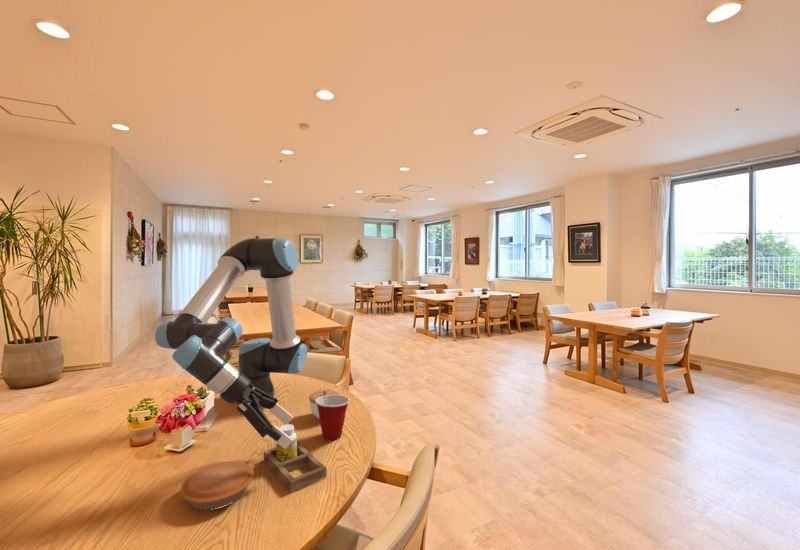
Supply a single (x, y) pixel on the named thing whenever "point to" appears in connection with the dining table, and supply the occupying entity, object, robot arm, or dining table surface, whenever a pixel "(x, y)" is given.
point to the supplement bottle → (291, 449)
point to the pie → (217, 484)
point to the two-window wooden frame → (293, 464)
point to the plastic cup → (332, 415)
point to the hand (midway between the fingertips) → (289, 432)
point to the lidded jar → (315, 395)
